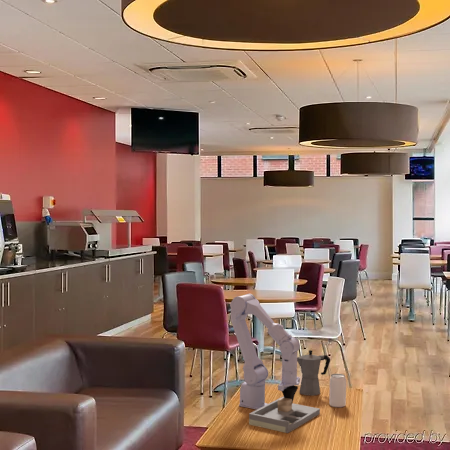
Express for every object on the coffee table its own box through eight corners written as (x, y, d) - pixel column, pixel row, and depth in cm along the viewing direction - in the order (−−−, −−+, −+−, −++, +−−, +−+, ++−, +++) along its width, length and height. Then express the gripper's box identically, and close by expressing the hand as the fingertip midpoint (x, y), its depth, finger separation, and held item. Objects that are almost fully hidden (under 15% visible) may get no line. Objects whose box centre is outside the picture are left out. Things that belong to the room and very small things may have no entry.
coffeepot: (298, 396, 305) (299, 353, 304) (291, 390, 314) (292, 348, 313) (333, 394, 308) (334, 352, 307) (325, 388, 317) (326, 346, 316)
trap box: (248, 424, 270) (249, 413, 269) (282, 406, 291) (283, 396, 291) (287, 433, 261) (288, 422, 261) (319, 413, 283) (320, 403, 283)
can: (345, 408, 290) (346, 378, 289) (328, 407, 291) (329, 377, 291) (346, 403, 296) (346, 373, 296) (329, 402, 298) (330, 372, 297)
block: (277, 410, 280) (277, 399, 280) (282, 407, 283) (282, 397, 283) (286, 412, 278) (287, 401, 278) (291, 409, 281) (292, 399, 281)
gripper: (290, 375, 274) (289, 411, 275) (307, 367, 287) (306, 402, 287) (273, 372, 278) (272, 408, 279) (291, 364, 290) (290, 398, 291)
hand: (288, 404), depth 283 cm, fingers closed
